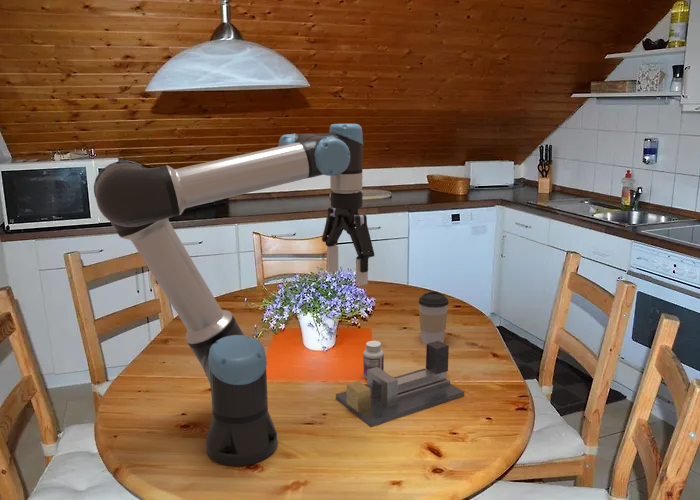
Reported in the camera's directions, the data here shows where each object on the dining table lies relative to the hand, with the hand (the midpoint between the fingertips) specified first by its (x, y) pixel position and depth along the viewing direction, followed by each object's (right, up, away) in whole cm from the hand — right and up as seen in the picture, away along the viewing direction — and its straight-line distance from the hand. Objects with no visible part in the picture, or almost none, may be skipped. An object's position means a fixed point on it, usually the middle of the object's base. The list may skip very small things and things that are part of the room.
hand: (346, 277), depth 149 cm
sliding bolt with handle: (+18, -28, +7) cm, 34 cm away
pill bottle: (+7, -28, +16) cm, 33 cm away
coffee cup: (+26, -21, +40) cm, 53 cm away
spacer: (+4, -28, -1) cm, 28 cm away
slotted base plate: (+13, -30, +5) cm, 33 cm away
